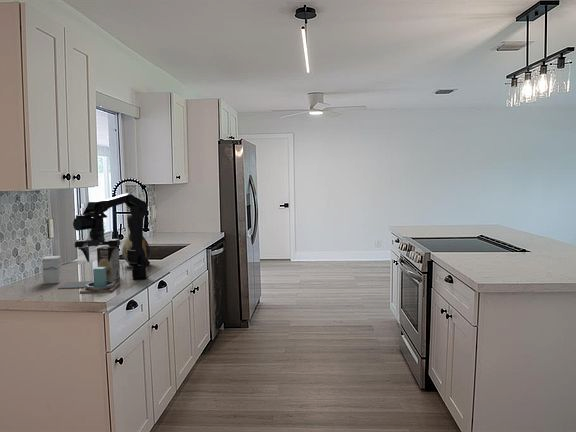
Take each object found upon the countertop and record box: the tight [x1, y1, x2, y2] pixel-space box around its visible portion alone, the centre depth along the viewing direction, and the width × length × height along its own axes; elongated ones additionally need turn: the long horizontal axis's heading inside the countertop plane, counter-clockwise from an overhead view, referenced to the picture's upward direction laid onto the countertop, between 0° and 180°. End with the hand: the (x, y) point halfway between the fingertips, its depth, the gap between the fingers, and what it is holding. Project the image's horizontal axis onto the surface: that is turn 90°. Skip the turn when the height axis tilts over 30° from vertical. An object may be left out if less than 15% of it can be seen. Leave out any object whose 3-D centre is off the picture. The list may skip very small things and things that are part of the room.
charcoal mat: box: [57, 280, 94, 290], centre depth 220 cm, size 12×12×1 cm
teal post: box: [92, 266, 108, 287], centre depth 213 cm, size 4×4×10 cm
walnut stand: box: [79, 282, 121, 294], centre depth 213 cm, size 14×14×1 cm
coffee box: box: [96, 245, 121, 281], centre depth 234 cm, size 9×6×16 cm
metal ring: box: [86, 280, 116, 290], centre depth 213 cm, size 12×12×2 cm
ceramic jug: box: [121, 214, 151, 268], centre depth 265 cm, size 17×15×30 cm
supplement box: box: [41, 255, 63, 285], centre depth 227 cm, size 7×7×13 cm
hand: (98, 261), depth 212 cm, fingers open, 9 cm apart
